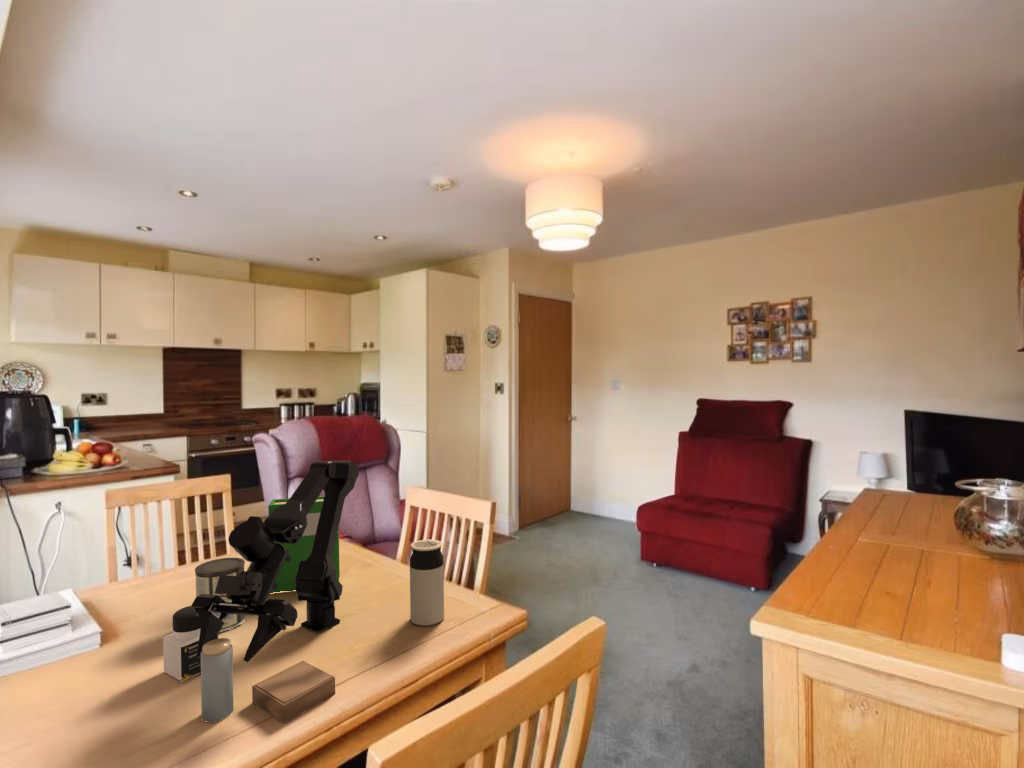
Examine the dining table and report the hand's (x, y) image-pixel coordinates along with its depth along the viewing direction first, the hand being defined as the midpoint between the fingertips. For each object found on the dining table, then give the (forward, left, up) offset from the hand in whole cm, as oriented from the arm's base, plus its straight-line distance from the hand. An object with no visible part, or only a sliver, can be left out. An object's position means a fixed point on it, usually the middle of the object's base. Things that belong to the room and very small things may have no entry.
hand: (222, 659), depth 91 cm
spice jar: (0, -1, -9) cm, 9 cm away
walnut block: (+7, +9, -9) cm, 15 cm away
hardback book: (-38, +41, -9) cm, 56 cm away
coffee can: (-34, +16, -9) cm, 38 cm away
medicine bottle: (-19, +3, -9) cm, 21 cm away
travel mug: (+5, +45, -9) cm, 46 cm away
